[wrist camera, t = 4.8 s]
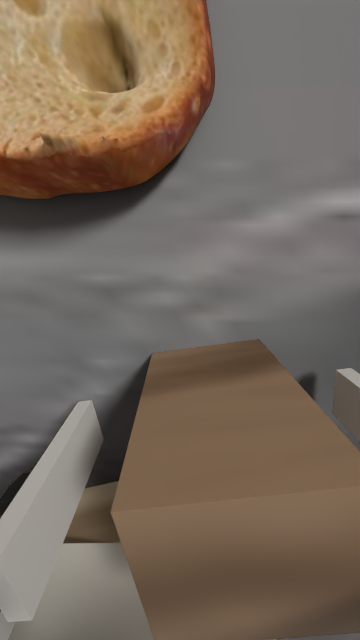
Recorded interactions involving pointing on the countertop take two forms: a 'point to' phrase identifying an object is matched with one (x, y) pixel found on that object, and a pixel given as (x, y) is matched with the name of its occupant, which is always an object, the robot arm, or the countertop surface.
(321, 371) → the countertop surface
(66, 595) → the tower top
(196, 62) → the slice of bread
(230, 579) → the walnut block
